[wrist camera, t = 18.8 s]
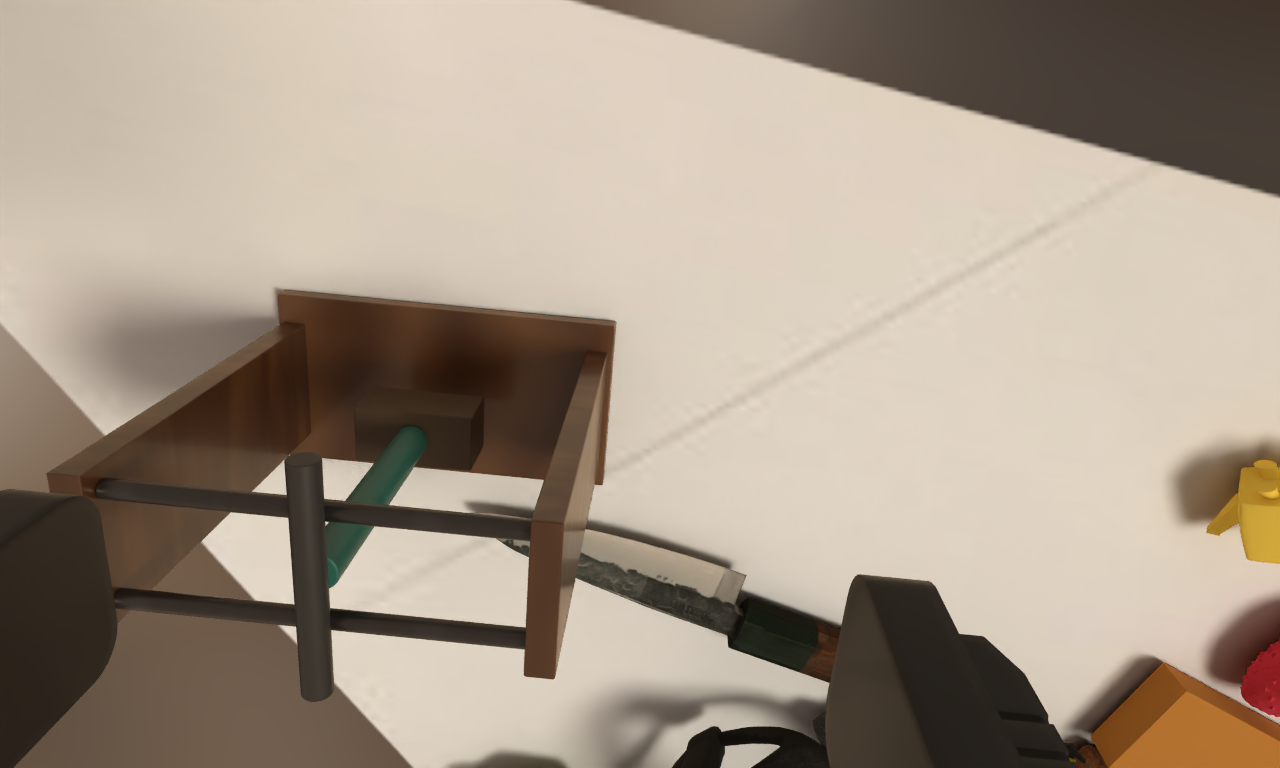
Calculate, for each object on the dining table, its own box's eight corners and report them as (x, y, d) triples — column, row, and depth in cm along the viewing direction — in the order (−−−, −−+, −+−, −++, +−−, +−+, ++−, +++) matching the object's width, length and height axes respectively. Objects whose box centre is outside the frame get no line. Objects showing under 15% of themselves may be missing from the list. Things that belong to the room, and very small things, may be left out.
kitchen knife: (1019, 682, 52) (979, 740, 54) (1006, 659, 54) (968, 716, 56) (477, 489, 49) (453, 557, 51) (485, 472, 51) (462, 538, 53)
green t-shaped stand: (376, 493, 47) (233, 694, 32) (371, 323, 43) (207, 458, 28) (482, 503, 47) (389, 709, 32) (486, 333, 43) (383, 475, 28)
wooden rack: (295, 448, 51) (73, 665, 32) (284, 289, 48) (29, 431, 29) (603, 478, 51) (560, 714, 32) (616, 321, 47) (575, 483, 29)
